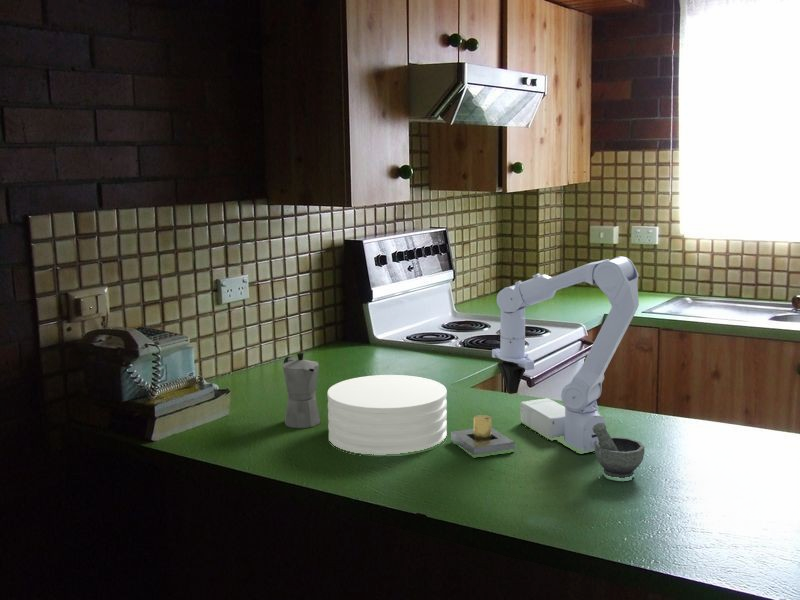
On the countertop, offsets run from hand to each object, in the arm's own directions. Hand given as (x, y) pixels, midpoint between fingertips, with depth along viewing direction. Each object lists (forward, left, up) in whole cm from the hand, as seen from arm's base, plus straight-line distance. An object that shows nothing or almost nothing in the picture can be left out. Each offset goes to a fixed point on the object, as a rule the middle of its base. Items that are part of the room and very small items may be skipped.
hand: (512, 392), depth 205 cm
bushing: (-6, +11, -10) cm, 16 cm away
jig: (-6, +11, -10) cm, 16 cm away
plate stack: (+10, +28, -10) cm, 31 cm away
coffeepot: (+29, +44, -10) cm, 54 cm away
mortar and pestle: (-33, -6, -10) cm, 35 cm away
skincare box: (+5, -9, -7) cm, 13 cm away
